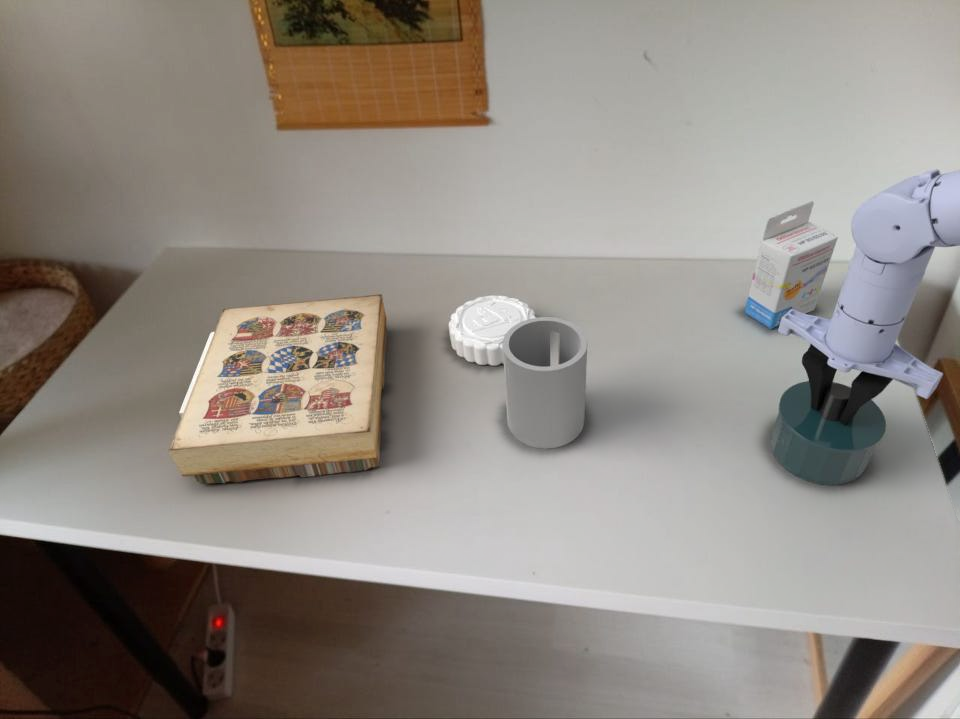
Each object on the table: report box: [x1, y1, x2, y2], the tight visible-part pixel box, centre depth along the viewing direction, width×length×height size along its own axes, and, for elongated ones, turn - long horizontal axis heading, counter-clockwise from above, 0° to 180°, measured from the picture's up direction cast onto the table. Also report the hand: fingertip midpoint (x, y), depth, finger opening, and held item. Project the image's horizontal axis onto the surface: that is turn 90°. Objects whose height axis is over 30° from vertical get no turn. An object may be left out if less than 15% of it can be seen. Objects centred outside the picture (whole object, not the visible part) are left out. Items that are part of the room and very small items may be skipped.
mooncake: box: [448, 294, 537, 367], centre depth 93 cm, size 12×12×4 cm
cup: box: [503, 316, 588, 450], centre depth 78 cm, size 9×9×12 cm
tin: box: [770, 413, 877, 486], centre depth 73 cm, size 10×10×5 cm
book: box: [168, 293, 388, 485], centre depth 86 cm, size 25×6×28 cm
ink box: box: [744, 200, 839, 330], centre depth 89 cm, size 8×5×15 cm, turn 119°
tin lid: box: [778, 380, 887, 453], centre depth 70 cm, size 10×10×4 cm
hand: (832, 411), depth 71 cm, fingers closed on tin lid, 2 cm apart
